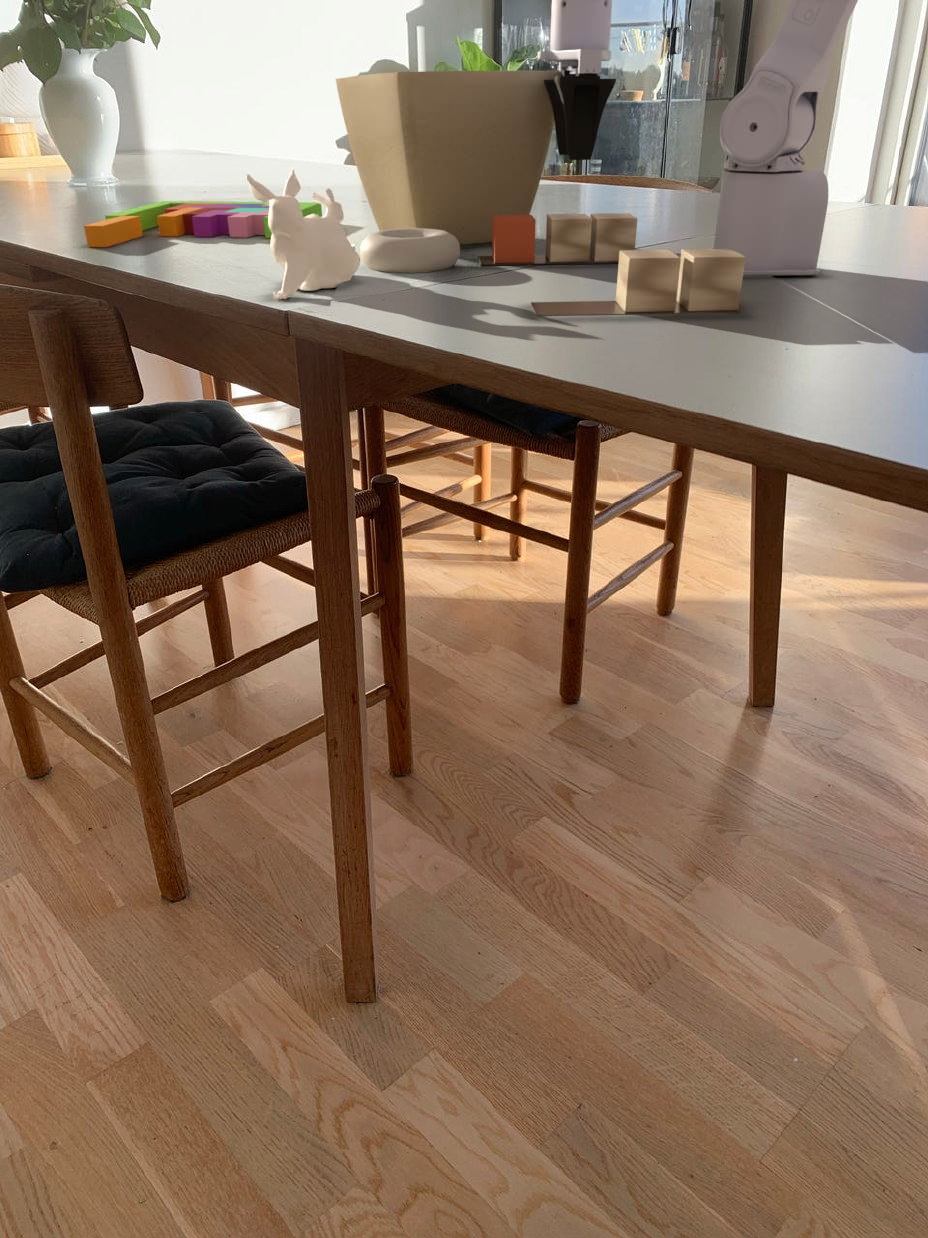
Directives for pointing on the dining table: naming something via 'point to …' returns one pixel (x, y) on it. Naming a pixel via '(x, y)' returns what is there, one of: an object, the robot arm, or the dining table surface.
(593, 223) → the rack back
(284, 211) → the rabbit figurine
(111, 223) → the toy blocks
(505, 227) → the rust orange cube
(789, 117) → the robot arm
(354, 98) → the flower pot
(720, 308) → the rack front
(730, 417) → the dining table surface
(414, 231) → the donut
